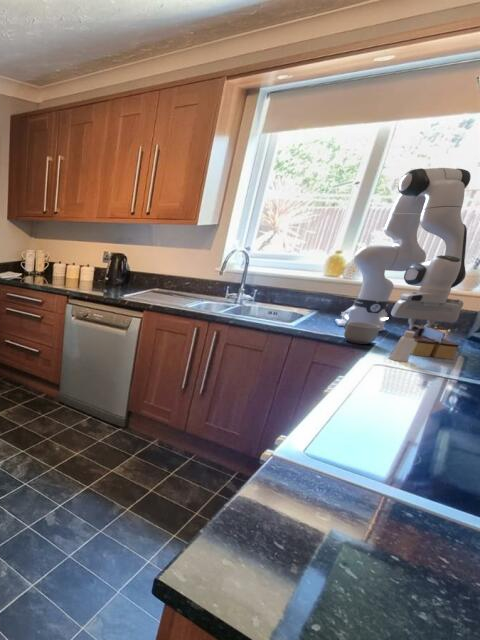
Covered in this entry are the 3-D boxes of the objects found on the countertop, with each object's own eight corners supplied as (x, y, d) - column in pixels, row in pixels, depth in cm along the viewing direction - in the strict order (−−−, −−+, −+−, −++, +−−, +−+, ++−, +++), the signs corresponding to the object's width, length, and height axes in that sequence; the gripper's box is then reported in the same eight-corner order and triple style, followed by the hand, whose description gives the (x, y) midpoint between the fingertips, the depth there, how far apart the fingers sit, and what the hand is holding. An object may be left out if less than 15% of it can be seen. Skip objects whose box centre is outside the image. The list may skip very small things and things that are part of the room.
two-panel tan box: (397, 347, 179) (403, 333, 176) (434, 351, 174) (440, 337, 172) (412, 354, 168) (418, 340, 166) (451, 359, 164) (458, 345, 162)
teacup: (379, 346, 178) (387, 328, 175) (350, 344, 180) (357, 326, 177) (358, 338, 190) (365, 320, 188) (331, 336, 192) (337, 318, 190)
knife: (407, 331, 182) (411, 321, 181) (414, 332, 182) (418, 322, 180) (435, 343, 164) (440, 332, 162) (443, 344, 163) (449, 333, 161)
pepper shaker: (409, 362, 158) (422, 334, 154) (390, 360, 160) (402, 331, 156) (405, 359, 162) (418, 331, 158) (386, 356, 165) (398, 328, 160)
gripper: (460, 298, 172) (445, 331, 177) (396, 293, 179) (383, 325, 184) (470, 301, 167) (454, 335, 172) (404, 295, 174) (390, 328, 179)
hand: (417, 330), depth 178 cm, fingers closed on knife, 2 cm apart
